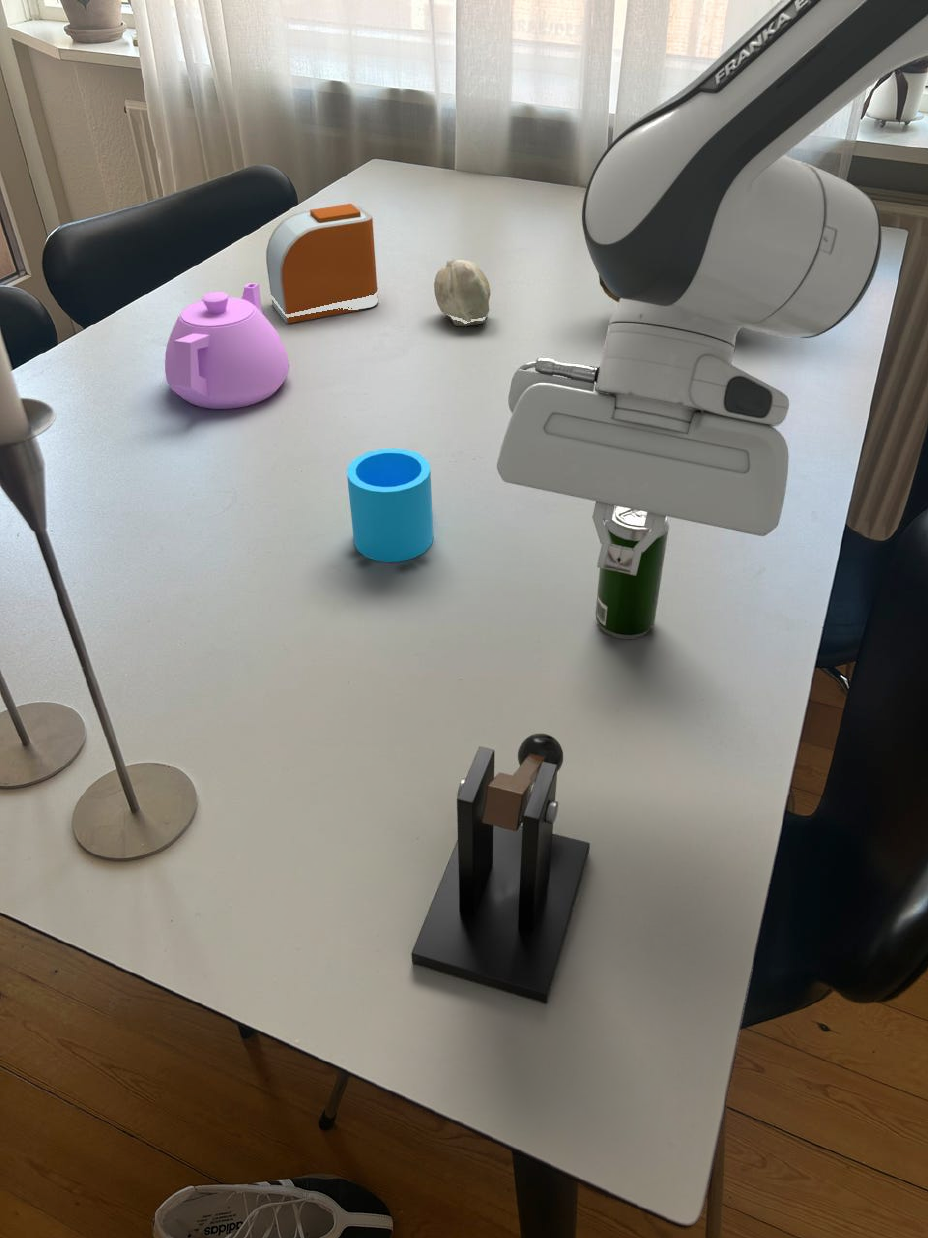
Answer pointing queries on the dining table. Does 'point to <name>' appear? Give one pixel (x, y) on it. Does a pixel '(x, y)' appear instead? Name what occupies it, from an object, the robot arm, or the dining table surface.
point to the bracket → (504, 892)
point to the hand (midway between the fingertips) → (616, 570)
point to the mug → (391, 504)
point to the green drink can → (631, 579)
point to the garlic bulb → (462, 291)
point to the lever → (519, 782)
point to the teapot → (225, 352)
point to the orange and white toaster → (321, 260)
